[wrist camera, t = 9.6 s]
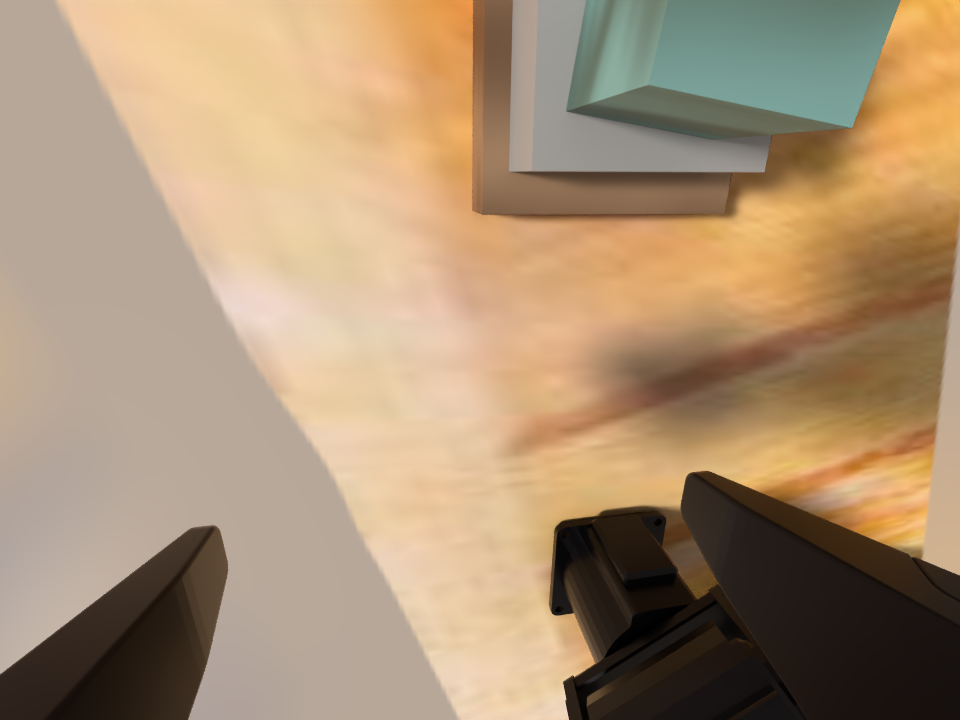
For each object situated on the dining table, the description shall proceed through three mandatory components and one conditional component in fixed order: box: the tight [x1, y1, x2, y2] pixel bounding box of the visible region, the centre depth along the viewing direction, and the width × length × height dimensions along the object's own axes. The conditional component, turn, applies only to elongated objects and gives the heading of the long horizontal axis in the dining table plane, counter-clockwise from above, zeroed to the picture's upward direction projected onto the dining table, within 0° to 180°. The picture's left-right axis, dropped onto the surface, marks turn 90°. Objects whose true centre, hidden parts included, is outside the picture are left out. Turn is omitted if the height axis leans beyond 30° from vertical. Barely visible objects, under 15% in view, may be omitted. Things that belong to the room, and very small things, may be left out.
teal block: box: [566, 0, 900, 140], centre depth 11 cm, size 5×5×5 cm
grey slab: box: [509, 0, 772, 173], centre depth 15 cm, size 8×8×3 cm
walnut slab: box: [472, 0, 732, 215], centre depth 18 cm, size 10×10×3 cm
